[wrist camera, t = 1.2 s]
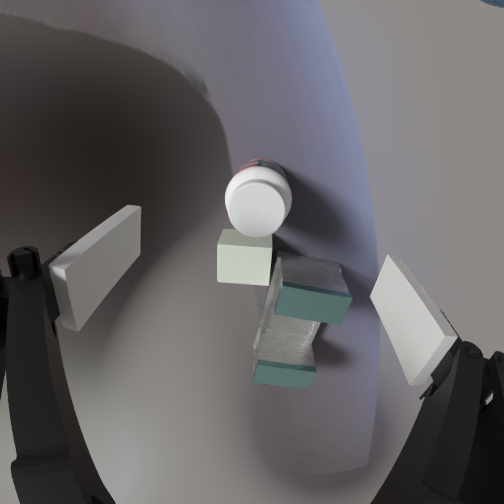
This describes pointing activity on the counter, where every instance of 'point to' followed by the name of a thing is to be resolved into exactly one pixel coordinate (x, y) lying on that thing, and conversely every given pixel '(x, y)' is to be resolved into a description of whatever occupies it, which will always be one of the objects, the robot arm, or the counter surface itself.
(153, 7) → the counter surface
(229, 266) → the block
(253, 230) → the pill bottle
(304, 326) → the teal white block
